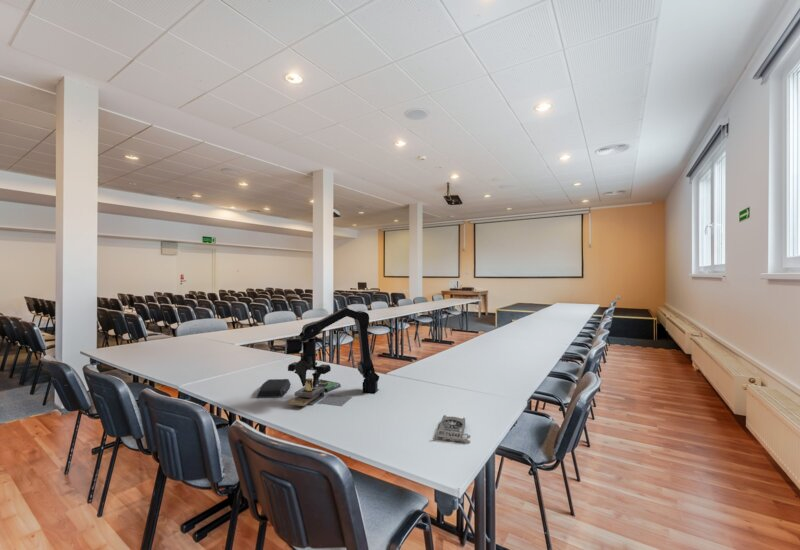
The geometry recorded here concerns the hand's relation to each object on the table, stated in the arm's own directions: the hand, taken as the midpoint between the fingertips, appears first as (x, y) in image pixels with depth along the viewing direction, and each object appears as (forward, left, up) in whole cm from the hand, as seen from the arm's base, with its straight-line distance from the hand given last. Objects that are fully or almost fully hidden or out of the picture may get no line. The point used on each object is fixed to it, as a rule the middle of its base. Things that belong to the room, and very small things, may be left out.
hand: (309, 387), depth 155 cm
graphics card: (-67, +12, -7) cm, 68 cm away
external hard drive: (+24, -8, -7) cm, 26 cm away
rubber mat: (-11, -4, -6) cm, 13 cm away
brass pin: (0, 0, -6) cm, 7 cm away
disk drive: (+3, -19, -7) cm, 21 cm away
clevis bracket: (0, +2, -7) cm, 7 cm away
